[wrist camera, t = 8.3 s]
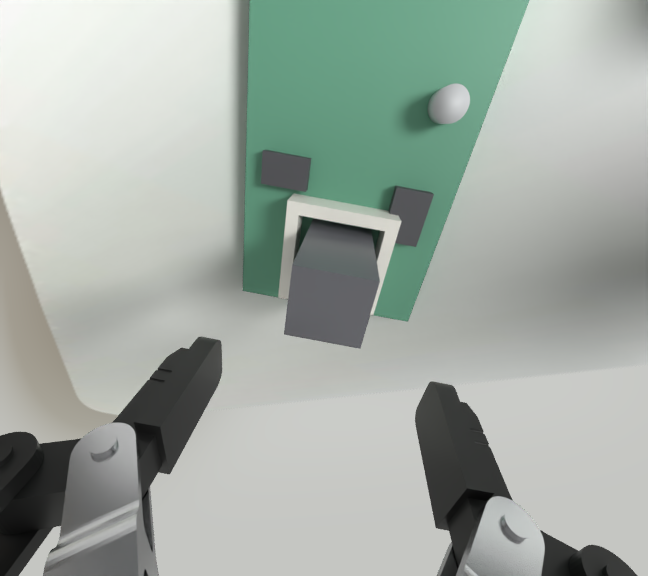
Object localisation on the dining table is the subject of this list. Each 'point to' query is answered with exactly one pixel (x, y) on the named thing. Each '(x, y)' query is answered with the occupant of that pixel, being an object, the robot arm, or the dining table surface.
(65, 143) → the dining table surface
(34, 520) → the robot arm
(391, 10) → the board
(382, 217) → the header
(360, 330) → the plug
